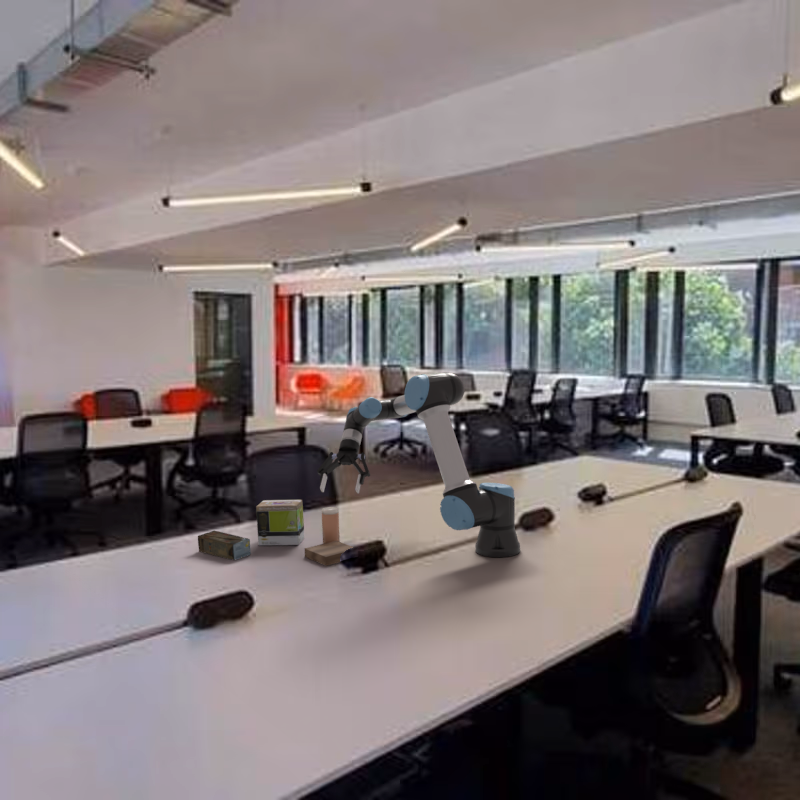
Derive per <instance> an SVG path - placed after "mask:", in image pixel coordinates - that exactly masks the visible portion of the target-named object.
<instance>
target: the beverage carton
mask: <svg viewBox="0 0 800 800" xmlns="http://www.w3.org/2000/svg"><path fill="white" fill-rule="evenodd" d="M197 544H198V545H197V546H198V552H200V553H203V554H208V555H212V556H215V557H219V558H223V557H224V558H225V559H227V558H228V559H227V560H231V559H233V561H236V560H235V559H237V560H239V558H240V559H242V558H241V557H243V558H244V556H245V557H248V556H250V554H252V553H251V551H252V550H251V539H250V538H247V537H243V536H239V535H235V534H231V533H227V532H223V531H219V530H212V531H211V530H210V531H209V532H205V533H202V534H199V535H198V536H197ZM247 555H248V556H247Z"/></svg>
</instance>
